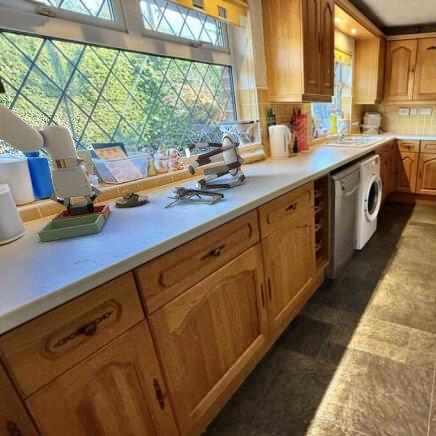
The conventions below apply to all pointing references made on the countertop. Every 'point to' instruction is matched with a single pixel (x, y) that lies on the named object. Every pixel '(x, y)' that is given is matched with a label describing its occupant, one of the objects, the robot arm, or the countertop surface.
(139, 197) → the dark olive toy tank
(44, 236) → the near bin
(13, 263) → the countertop surface
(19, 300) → the countertop surface
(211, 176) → the jointed toy figure
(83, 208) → the packet
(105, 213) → the far bin
